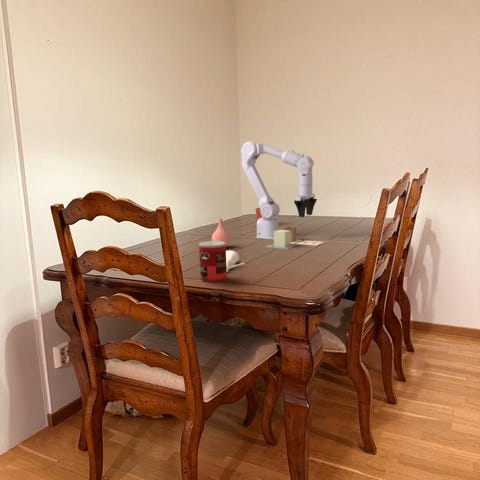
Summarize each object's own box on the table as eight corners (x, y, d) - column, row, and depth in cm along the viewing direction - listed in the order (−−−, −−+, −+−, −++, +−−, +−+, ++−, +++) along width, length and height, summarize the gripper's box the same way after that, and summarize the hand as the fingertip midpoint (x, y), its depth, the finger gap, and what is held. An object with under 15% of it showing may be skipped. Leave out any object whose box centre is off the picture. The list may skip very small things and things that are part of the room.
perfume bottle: (212, 246, 182) (211, 217, 180) (230, 246, 182) (230, 217, 180) (211, 250, 175) (210, 220, 173) (230, 249, 175) (229, 219, 173)
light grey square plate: (265, 248, 176) (265, 246, 176) (277, 243, 185) (277, 242, 184) (287, 250, 171) (287, 248, 171) (298, 245, 179) (298, 244, 179)
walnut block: (281, 241, 188) (281, 227, 187) (285, 239, 192) (285, 226, 191) (292, 242, 186) (292, 228, 185) (296, 240, 190) (296, 226, 189)
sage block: (274, 246, 177) (273, 231, 176) (280, 244, 181) (279, 229, 180) (284, 247, 174) (284, 232, 173) (290, 245, 178) (290, 230, 177)
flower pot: (277, 225, 239) (277, 207, 237) (272, 228, 229) (272, 209, 227) (259, 224, 242) (258, 207, 240) (253, 227, 232) (252, 209, 230)
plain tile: (274, 242, 188) (274, 241, 188) (284, 239, 195) (284, 238, 195) (293, 244, 183) (293, 243, 183) (302, 240, 190) (302, 240, 190)
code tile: (295, 244, 182) (295, 243, 182) (305, 240, 190) (305, 240, 190) (315, 246, 178) (315, 245, 178) (324, 242, 185) (324, 241, 185)
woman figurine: (247, 248, 154) (241, 263, 137) (247, 260, 155) (242, 277, 138) (215, 248, 156) (205, 263, 138) (215, 260, 157) (206, 277, 140)
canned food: (200, 276, 135) (198, 241, 133) (226, 275, 136) (225, 240, 134) (200, 283, 128) (198, 245, 126) (227, 281, 128) (226, 244, 126)
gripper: (306, 185, 181) (306, 218, 184) (321, 183, 193) (320, 214, 196) (291, 185, 185) (291, 217, 188) (306, 183, 197) (306, 213, 199)
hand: (305, 215), depth 192 cm, fingers open, 7 cm apart
